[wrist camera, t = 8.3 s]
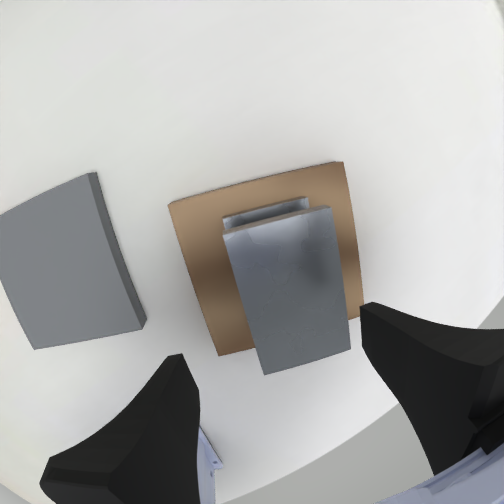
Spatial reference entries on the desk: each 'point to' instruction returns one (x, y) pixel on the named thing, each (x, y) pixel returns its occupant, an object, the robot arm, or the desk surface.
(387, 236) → the desk surface
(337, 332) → the block
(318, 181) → the stand
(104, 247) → the stand
